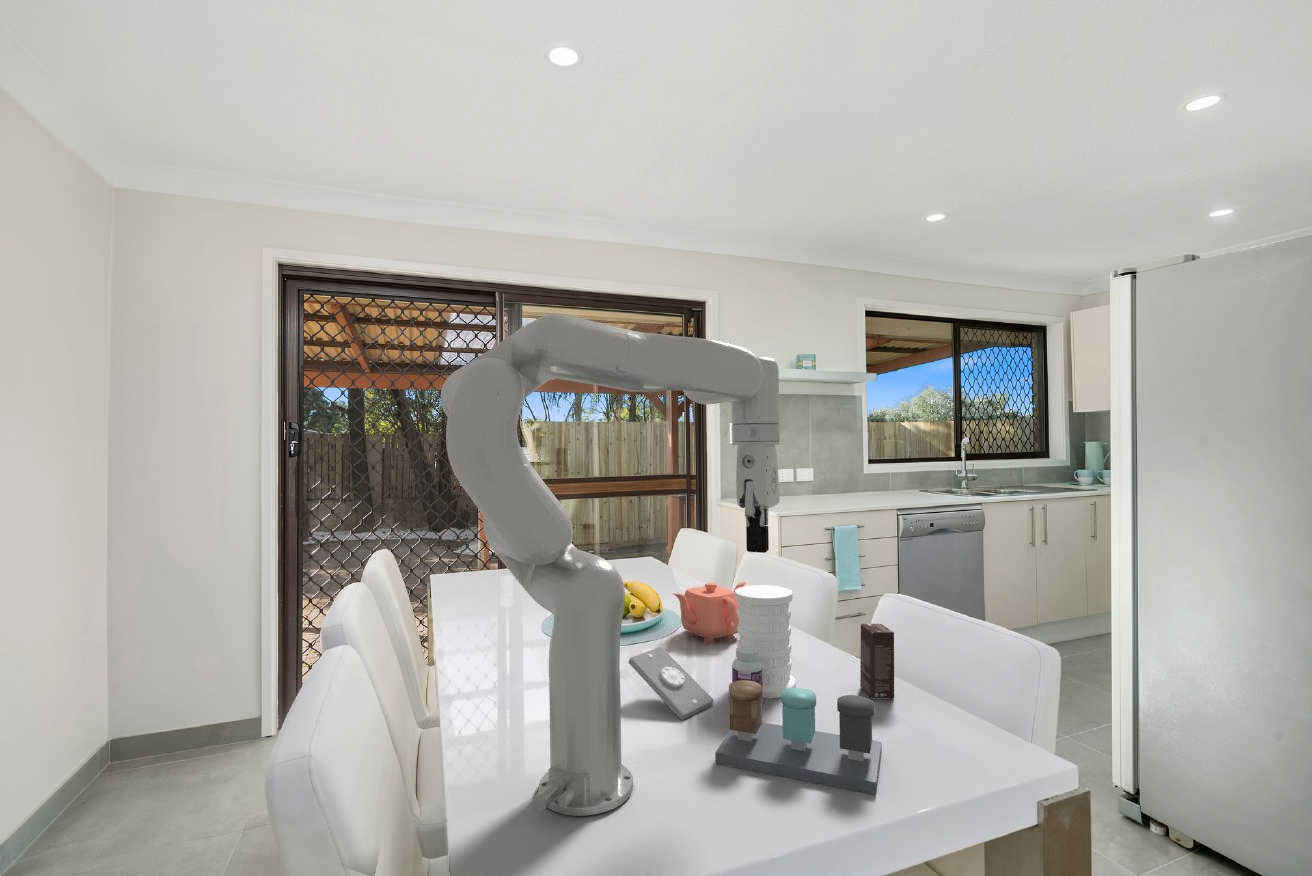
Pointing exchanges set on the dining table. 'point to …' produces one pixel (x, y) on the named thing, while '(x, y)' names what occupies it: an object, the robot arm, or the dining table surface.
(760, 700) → the walnut key
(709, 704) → the light switch
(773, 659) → the decorative container
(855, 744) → the dark grey round-topped block
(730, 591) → the teapot
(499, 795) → the dining table surface
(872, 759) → the panel
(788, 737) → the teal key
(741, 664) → the pill bottle
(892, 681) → the box
